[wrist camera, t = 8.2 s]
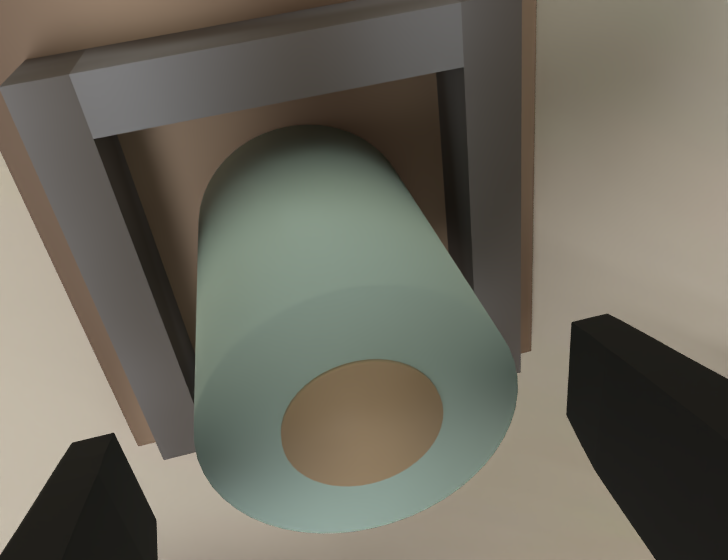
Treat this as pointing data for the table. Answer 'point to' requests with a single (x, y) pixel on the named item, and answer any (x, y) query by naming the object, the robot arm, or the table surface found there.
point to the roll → (336, 341)
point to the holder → (238, 126)
